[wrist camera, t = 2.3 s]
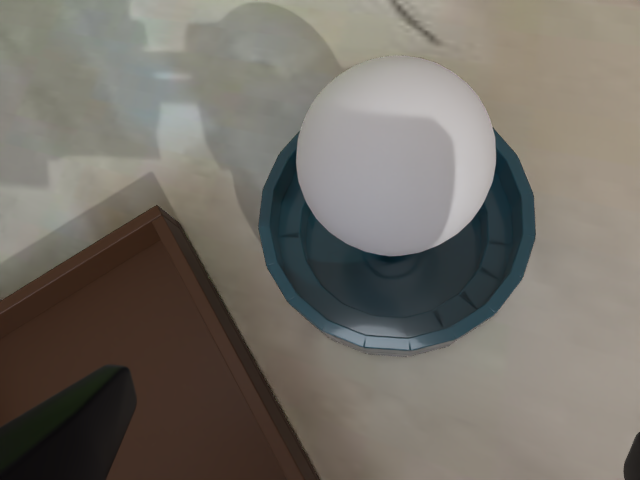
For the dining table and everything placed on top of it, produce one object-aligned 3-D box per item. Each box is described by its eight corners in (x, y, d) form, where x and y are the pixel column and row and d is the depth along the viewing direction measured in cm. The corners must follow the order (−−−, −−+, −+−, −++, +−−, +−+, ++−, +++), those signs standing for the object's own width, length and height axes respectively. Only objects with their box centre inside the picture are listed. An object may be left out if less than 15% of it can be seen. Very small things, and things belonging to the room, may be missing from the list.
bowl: (566, 269, 22) (597, 247, 19) (356, 406, 21) (351, 408, 18) (421, 94, 25) (426, 49, 22) (237, 208, 25) (214, 180, 22)
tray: (351, 537, 20) (346, 556, 18) (65, 727, 19) (20, 774, 17) (178, 221, 25) (156, 203, 23) (-52, 364, 25) (-100, 361, 22)
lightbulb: (313, 193, 24) (257, 43, 14) (435, 160, 24) (472, -19, 14) (344, 314, 22) (305, 246, 12) (477, 280, 22) (557, 179, 12)
